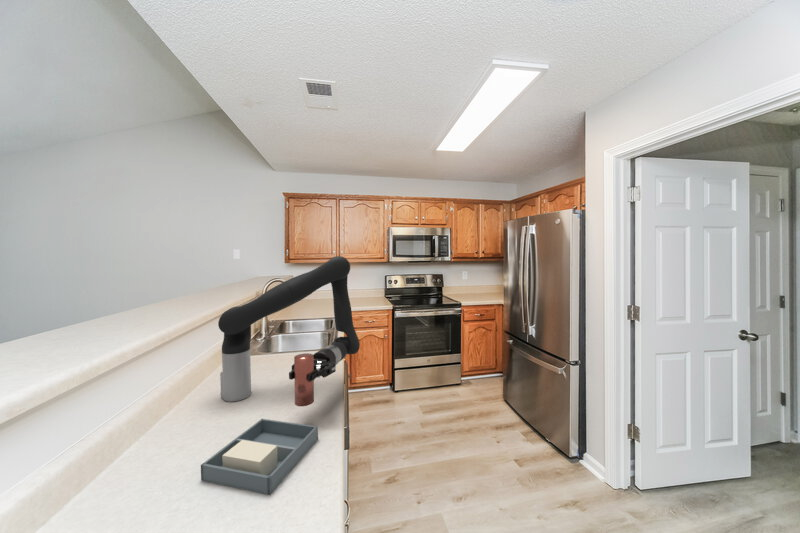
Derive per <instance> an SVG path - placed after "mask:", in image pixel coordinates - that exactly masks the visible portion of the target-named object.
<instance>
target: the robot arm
mask: <svg viewBox="0 0 800 533" xmlns="http://www.w3.org/2000/svg"><path fill="white" fill-rule="evenodd" d="M350 271H351V263H350V261H349V260H348V259H347V258H345V256H341V255H339V256H338V255H336V256H333V257H331V258H330V259H328V260H327V261H326V262H324V263H323V264H320V265H319V266H318V267H316V268H314V269H312V270H310V271H307V272H304V273H301V274H300V275H297V276H294V277H292V278H289V279H287V280H285V281H283V282H281V283H278V285H275V286H273V287H272V288H270V289H269V290H267V291H265V292H264V293H263V294H261V295H260V296H258V297H257V298H255V299H253V300H251V301H249V302H246V303H244V304H243V305H240V306H233V307H232V306H231V307H230V308H229V309H227V310H225V311H224V312H223V313H222V314H221V315H220V316H219V319H218V329H219V330H220V331H221V333H223V341H222V344H221V361H222V362H221V363H222V371H221V372H220V374H219V376H220V378H219V380H220V398H221V400H223V401H225V402H231V403H233V402H239V401H242V400H245V399H247V398H249V397H250V396H251V395H252V369H251V367H252V366H251V365H252V364H251V362H252V361H251V340H252V325H253V324H255V323H256V322H258V321H260V320H262V319H263V318H267V317H268V316H270V315H273V314H275V313H277V312H280V311H282V310H284V309H287V308H288V307H291V306H293V305H294V304H297V303H298V302H300V301H302V300H304V299H305V298H307V297H309V296H310V295H311V294H313V293H314V292H316V291H317V290H319V289H321V288H322V287H324V286H327V285H328V284H331V288H332V289H331V290H332V302H333V315H334V316H333V317H334V325H335V330H336V331H337V332H341V333H344V334H345V335H346V336H339V337H336V338H334V339H333V341H332V342H331V344H329V345H328V346H325V347H323V348H321V349H320V350H318V351H317V352H315V353H314V354H313V355H314V371H312V372H311V373H309V374H308V382H311V381H312V380H314V381H315V380H316V379H317V378H321V377H322V378H326V377H329V376H330V375H332V374H333V373H336V369H337V368H336V366H337V365H338V364H339V363H340V362H341V361H343V359H345V358H346V356H347V355H355V354H358V352H359V350H360V348H361V347H360V346H361V345H360V339H359V337H358V334H357V332H356V329H355V326H354V322H353V313H352V305H351V302H350V295H349V288H348V276H349V274H350ZM288 379H289V380H294V363H293V364H292V365H291V371H290V372H288Z"/></svg>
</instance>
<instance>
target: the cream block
mask: <svg viewBox="0 0 800 533" xmlns="http://www.w3.org/2000/svg"><path fill="white" fill-rule="evenodd" d="M222 459H223V467H225V468H230V469H236V470H241V471H246V472H251V473H257V474H262V475H267V476H269V475H270V474H271V473H272V472H273V470H274V469H275V468H276V467H277V466H278V458H277V445H271V444H264V443H258V442H252V441H246V440H241V441H240V442H239V443H238V444H236V445H235V446H234V447H233V448H231V449H230V450H229V451H227V452H226V453H225V454H224V455H222Z"/></svg>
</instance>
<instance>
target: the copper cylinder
mask: <svg viewBox="0 0 800 533" xmlns="http://www.w3.org/2000/svg"><path fill="white" fill-rule="evenodd" d="M293 359H294V360H293V361H294V363H293V364H294V379H293V381H294V405H295V406H296V407H307V406H309V405H312V404H313V403H314V402H315V383H314V382H315V379H314V380H312V381H311V382H308V374H309V373H311V372H312V371H314V354H312V353H308V352H307V353H306V352H305V353H299V354H297V355H294V358H293Z"/></svg>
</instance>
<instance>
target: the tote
mask: <svg viewBox="0 0 800 533" xmlns="http://www.w3.org/2000/svg"><path fill="white" fill-rule="evenodd" d="M241 440H246V441H252V442H258V443H264V444H271V445H277V458H278V466H277V467H276V468H275V469H274V470H273V472H272V473H271V474H270V475H269V476H267V475H262V474H257V473H251V472H246V471H241V470H236V469H230V468H225V467H223V459H222V455H224V454H225V453H226V452H227V451H229V450H230V449H231V448H233V447H234V446H235V445H236V444H238V443H239V442H240V441H241ZM318 440H319V427H318V425H317V426H316V425H309V424H303V423H302V424H301V423H295V422H288V421H281V420H274V419H267V418H261V419H259V420H258V421H256V422H255V423H254V424H253V425H252V426H249V428H247V429H246V430H244V432H242V433H241V434H240V435H238V436H237V437H236V438H234V439H233V440H232V441H230V442H229V443H227V444H226V445H225V446H224V447H223V448H221V449H220V450H218V451H217V452H216V453H215V454H213V455H212V456H210V457H209V458H208V459H207V460H205V461H204V462H203V463H201V464H200V480H201V481H202V482H207V483H212V484H216V485H221V486H226V487H232V488H235V489H241V490H244V491H245V490H246V491H250V492H254V493H260V494H265V495H269V496H270V495H272V493H274V491H275V490H276V488H277V487H278V486H279V485H280V484H281V483H282V481H283V480H284V479H285V478H286V477H287V476H288V475H289V473H290V472H291V471H292V470H293V468H295V467H296V465H297V464H298V463H299V462H300V461H301V459H302V458H304V456H305V455H306V454H307V452H309V450H310V449H311V448H312V447H313V446H314V445H315V443H316V442H317V441H318Z"/></svg>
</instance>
